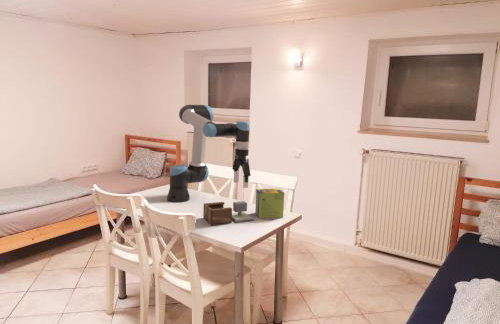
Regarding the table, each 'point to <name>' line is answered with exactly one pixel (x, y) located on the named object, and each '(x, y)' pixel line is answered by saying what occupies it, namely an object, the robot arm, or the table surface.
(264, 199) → the protein box
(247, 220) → the rubber mat
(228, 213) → the walnut box
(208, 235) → the table surface
